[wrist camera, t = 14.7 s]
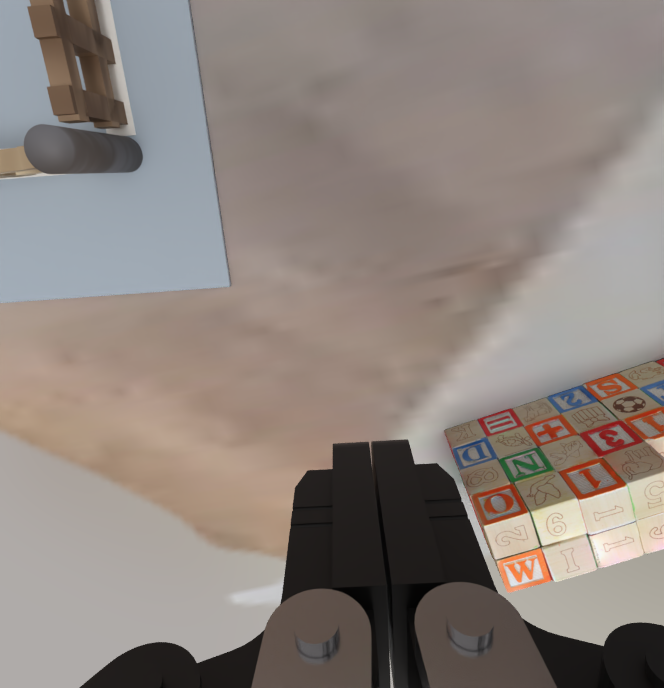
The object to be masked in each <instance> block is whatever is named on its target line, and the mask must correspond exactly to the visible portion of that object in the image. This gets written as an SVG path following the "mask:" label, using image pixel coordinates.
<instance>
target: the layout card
mask: <svg viewBox="0 0 664 688" xmlns="http://www.w3.org/2000/svg"><path fill="white" fill-rule="evenodd" d="M63 2H64V7H65V11H66V14H67V15H69V10H68V6H67V1H66V0H63ZM95 5H96V10H97V15H98V20H99V25H100V30H101V34H102V35H104V36H106V37H107V38H109V39H111V42H112V47H113V52H114V57H115V62H116V64H109V65H108V69H109V74H110V79H111V84H112V89H113V94H114V99H115V100H118V101H121V102H124V107H125V112H126V118H127V123H128V125H120V128H109V129H99V128H94V124H93V122H83V123H70V124H69V123H63V122H59V120H58V116H55V115H53V111H52V107H51V103H50V98H49V94H48V90H47V87H50V83H49V79H48V75H47V71H46V66H45V62H44V58H43V54H42V50H41V46H40V42H39V39H36V38H35V37H34V33H33V29H32V25H31V21H30V16H29V12H28V8H27V6H31V4H30V0H0V150H1V149H9V148H17V147H18V146H24V138H25V135H26V133H27V132H28V130H29V129H30V128H32V127H33V126H35V125H39V124H47V125H53V126H60V127H67V128H73V129H80V130H87V131H93V132H100V133H107V134H113V135H120V136H127V137H130V138H132V139H133V140H135V141H136V142H137V143H138V144H139V146H140V148H141V150H142V154H143V160H142V164H141V166H140V167H139V168H138V169H137V170H136V171H134V172H129V173H89V174H46V173H39V174H36V175H31V176H23V177H7V178H0V303H8V302H22V301H36V300H50V299H65V298H79V297H93V296H107V295H121V294H135V293H149V292H163V291H177V290H192V289H206V288H220V287H230V286H231V281H230V274H229V268H228V261H227V254H226V247H225V240H224V233H223V227H222V220H221V213H220V206H219V199H218V192H217V185H216V179H215V172H214V165H213V158H212V151H211V144H210V138H209V131H208V124H207V117H206V110H205V103H204V97H203V90H202V83H201V76H200V69H199V62H198V56H197V49H196V42H195V35H194V28H193V21H192V14H191V8H190V1H189V0H95ZM69 16H70V15H69ZM75 57H76V61H77V66H78V70H79V75H80V79H81V84H82V88H83V90H86V88H85V83H84V78H83V74H82V69H81V65H80V60H79V57H78V56H75Z"/></svg>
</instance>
